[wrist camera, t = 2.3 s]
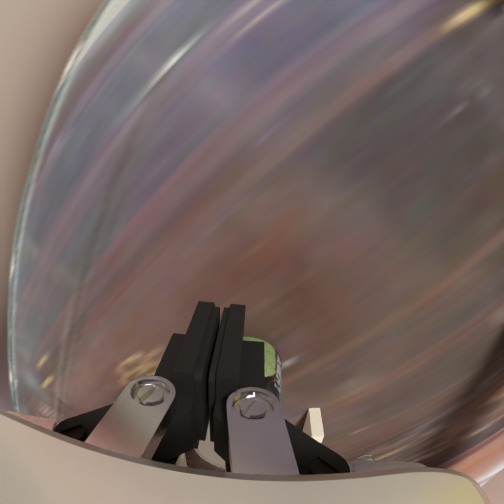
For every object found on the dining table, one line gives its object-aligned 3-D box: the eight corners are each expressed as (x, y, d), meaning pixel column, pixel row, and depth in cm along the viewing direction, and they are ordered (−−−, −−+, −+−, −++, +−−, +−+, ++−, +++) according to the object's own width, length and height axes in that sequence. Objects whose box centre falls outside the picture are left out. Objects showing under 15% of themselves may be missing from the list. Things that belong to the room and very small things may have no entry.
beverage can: (234, 388, 29) (219, 488, 18) (197, 332, 27) (160, 433, 16) (293, 370, 28) (300, 474, 17) (261, 309, 26) (254, 414, 15)
